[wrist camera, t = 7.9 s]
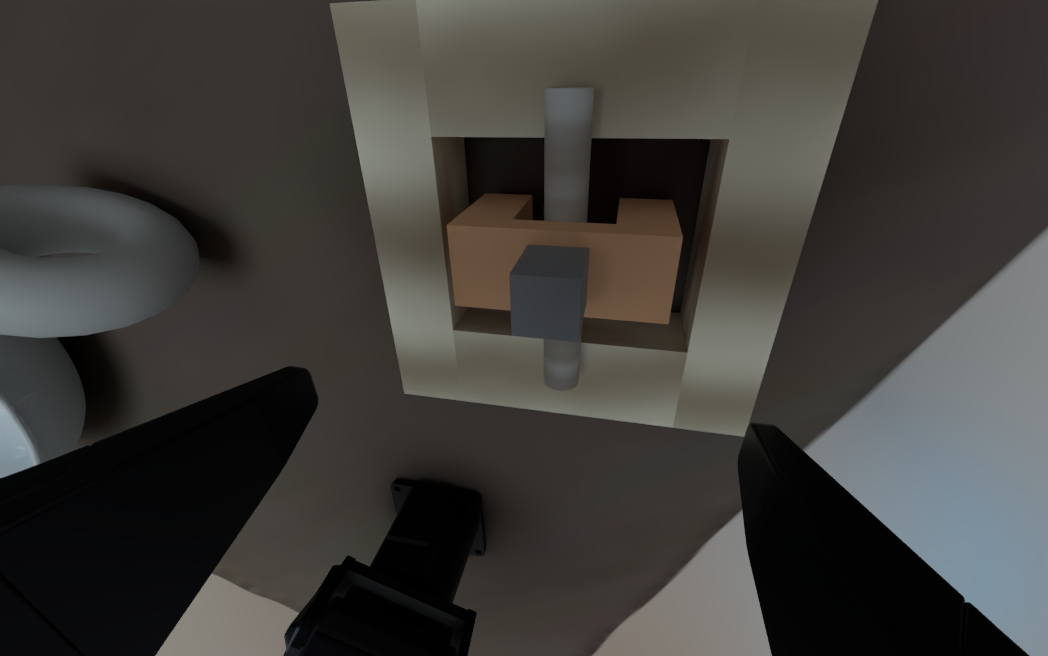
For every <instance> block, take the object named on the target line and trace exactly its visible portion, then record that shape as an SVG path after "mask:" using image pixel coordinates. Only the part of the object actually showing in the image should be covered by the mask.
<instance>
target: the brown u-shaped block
mask: <svg viewBox="0 0 1048 656" xmlns="http://www.w3.org/2000/svg"><path fill="white" fill-rule="evenodd" d="M447 234H448V244H449V253H450V263H451V272H452V282H453V291H454V301H455V306H463V307H475V308H486V309H498V310H509V311H511V335H512V336H518V337H528V338H538V339H549V340H559V341H569V342H578V341H579V336H580V331H581V327H582V322H583V317H589V318H600V319H612V320H623V321H635V322H646V323H657V324H669V319H670V313H671V307H672V301H673V295H674V289H675V283H676V277H677V271H678V265H679V259H680V253H681V247H682V241H683V235H682V232H681V228H680V224H679V221H678V217H677V213H676V210H675V206H674V203H673V200H661V199H633V198H620V200H619V208H618V216H617V223H616V224H602V223H581V222H559V221H538V220H533V195H520V194H492V193H485V194H484V195H483V196H482V197H480V198H479V199H478V200H477V201H475V202H474V203H473V204H472V205H471V206H469V207H468V208H467V209H466V210H464V211H463V212H462V213H461V214H460V215H458V216H457V217H456V218H455V219H453V220H452V221H451V222H450V223H449V224H447Z"/></svg>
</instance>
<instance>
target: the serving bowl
mask: <svg viewBox="0 0 1048 656" xmlns="http://www.w3.org/2000/svg"><path fill="white" fill-rule="evenodd" d="M85 411H86V404H85V395H84V390H83V387H82V383H81V380H80V377H79V375H78V372H77V370H76V368H75V366H74V364H73V362H72V360H71V358H70V356H69V355H68V353H67V352H66V350H65V349H64V347H63V346H62V344H61V343H60V341H59V340H58V339H57V337H51V338H34V337H22V336H11V335H0V478H3V477H5V476H8V475H11V474H14V473H16V472H19V471H22V470H25V469H27V468H30V467H33V466H35V465H38V464H40V463H43V462H46V461H48V460H51V459H53V458H56V457H59V456H61V455H64V454H66V453H69V452H72V451H73V450H74V449H75V447H76V445H77V443H78V441H79V439H80V436H81V433H82V430H83V426H84V421H85Z"/></svg>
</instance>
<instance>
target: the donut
mask: <svg viewBox="0 0 1048 656" xmlns="http://www.w3.org/2000/svg"><path fill="white" fill-rule="evenodd" d="M67 252H74V253H93V254H92V255H86V256H76V257H67V258H59V257H39V256H43V255H48V254H57V253H67ZM199 269H200V261H199V252H198V247H197V244H196V241H195V239H194V238H193V237H192V236H191V234H190V233H189V232H188V231H187V230H186V229H185V227H184V226H183V225H182V224H181V223H180V222H179V220H178V219H176V218H175V217H173V216H171V215H170V214H168V213H166V212H165V211H163V210H161V209H159V208H158V207H156V206H154V205H152V204H151V203H149V202H146V201H143V200H140V199H137V198H134V197H131V196H128V195H125V194H122V193H116V192H111V191H106V190H101V189H96V188H90V187H82V186H70V185H58V184H22V185H6V186H0V335H11V336H22V337H34V338H51V337H68V336H84V335H90V334H95V333H100V332H104V331H109V330H114V329H119V328H124V327H127V326H130V325H132V324H135V323H137V322H140V321H142V320H145V319H147V318H150V317H152V316H155V315H157V314H159V313H161V312H163V311H165V310H166V309H167V308H169V307H170V306H172V305H173V304H174V303H176V302H177V301H179V300H180V299H181V298H183V297H184V296H185V295H186V293H187V292H188V291H189V289H190V287H191V286H192V284H193V282H194V281H195V279H196V277H197V275H198V274H199Z"/></svg>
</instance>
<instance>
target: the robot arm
mask: <svg viewBox="0 0 1048 656" xmlns="http://www.w3.org/2000/svg"><path fill="white" fill-rule="evenodd" d="M317 406H318V395H317V392H316V389H315V386H314V383H313V380H312V376H311V374H310V372H309V371H308V370H307V369H305V368H301V367H293V366H289V367H285V368H283V369H280V370H278V371H275V372H272V373H270V374H267V375H265V376H262V377H260V378H257V379H255V380H252V381H250V382H247V383H244V384H242V385H239V386H237V387H234V388H232V389H229V390H227V391H224V392H222V393H219V394H217V395H214V396H211V397H209V398H206V399H204V400H201V401H199V402H196V403H194V404H191V405H189V406H186V407H184V408H181V409H178V410H176V411H173V412H171V413H168V414H166V415H163V416H161V417H158V418H156V419H153V420H150V421H148V422H145V423H143V424H140V425H138V426H135V427H133V428H130V429H128V430H125V431H123V432H120V433H117V434H115V435H112V436H110V437H107V438H105V439H102V440H100V441H97V442H95V443H93V444H92V445H91V446H89V445H87V446H84V447H82V448H79V449H77V450H74V451H72V452H69V453H66V454H64V455H61V456H59V457H56V458H53V459H51V460H48V461H46V462H43V463H40V464H38V465H35V466H33V467H30V468H27V469H25V470H22V471H19V472H16V473H14V474H11V475H8V476H5V477H3V478H0V656H155V655H156V654H157V652H158V651H159V649H160V648H161V646H162V645H163V643H164V642H165V640H166V639H167V637H168V636H169V634H170V633H171V632H172V630H173V629H174V627H175V626H176V624H177V623H178V621H179V620H180V618H181V617H182V615H183V614H184V613H185V611H186V610H187V608H188V607H189V605H190V604H191V603H192V601H193V600H194V598H195V597H196V595H197V594H198V592H199V591H200V589H201V588H202V586H203V585H204V583H205V582H206V581H207V579H208V578H209V576H210V575H211V573H212V572H213V570H214V569H215V567H216V566H217V565H218V563H219V562H220V560H221V559H222V557H223V556H224V554H225V553H226V551H227V550H228V549H229V547H230V546H231V544H232V543H233V541H234V540H235V538H236V537H237V535H238V534H239V532H240V531H241V530H242V528H243V527H244V525H245V524H246V522H247V521H248V519H249V518H250V516H251V515H252V513H253V512H254V511H255V509H256V508H257V506H258V505H259V503H260V502H261V500H262V499H263V497H264V496H265V495H266V493H267V492H268V490H269V489H270V487H271V486H272V484H273V483H274V481H275V480H276V478H277V477H278V475H279V474H280V472H281V471H282V469H283V468H284V466H285V464H286V463H287V461H288V459H289V458H290V456H291V454H292V452H293V450H294V448H295V447H296V445H297V443H298V441H299V439H300V438H301V436H302V434H303V432H304V430H305V429H306V427H307V425H308V423H309V421H310V420H311V418H312V416H313V414H314V412H315V411H316V409H317ZM738 474H739V483H740V492H741V501H742V510H743V518H744V528H745V536H746V544H747V550H748V555H749V560H750V564H751V568H752V573H753V577H754V581H755V585H756V590H757V594H758V598H759V602H760V607H761V611H762V615H763V619H764V624H765V628H766V632H767V636H768V641H769V645H770V649H771V653H772V656H1029V655H1028V654H1027V653H1026V652H1025V651H1023V650H1022V649H1021V648H1020V647H1019V646H1018V645H1017V644H1015V643H1014V642H1013V641H1012V640H1011V639H1010V638H1009V637H1008V636H1006V635H1005V634H1004V633H1003V632H1002V631H1001V630H1000V629H998V628H997V627H996V626H995V625H994V624H993V623H992V622H991V621H990V620H989V619H988V618H987V617H985V616H984V615H983V614H982V613H981V612H980V611H979V610H978V609H977V608H975V607H974V606H973V605H972V604H971V603H967V602H965V599H964V597H963V596H962V595H961V594H960V593H959V592H958V591H957V590H956V589H954V588H953V587H952V586H951V585H950V584H949V583H948V582H947V581H946V580H945V579H943V578H942V577H941V576H940V575H939V574H938V573H937V572H936V571H935V570H934V569H932V568H931V567H930V566H929V565H928V564H927V563H926V562H925V561H924V560H922V559H921V558H920V557H919V556H918V555H917V554H916V553H915V552H913V550H912V549H910V548H909V547H908V546H907V545H906V544H905V543H904V542H903V541H902V540H901V539H899V538H898V537H897V536H896V535H895V534H894V533H893V532H892V531H891V530H890V529H889V528H887V527H886V526H885V525H884V524H883V523H882V522H881V521H880V520H879V519H877V518H876V517H875V516H874V515H873V514H872V513H871V512H870V511H869V510H868V509H867V508H865V507H864V506H863V505H862V504H861V503H860V502H859V501H858V500H857V499H856V498H854V497H853V496H852V495H851V494H850V493H849V492H848V491H847V490H846V489H845V488H843V487H842V486H841V485H840V484H839V483H838V482H837V481H836V480H835V479H834V478H832V477H831V476H830V475H829V474H828V473H827V472H826V471H825V470H824V469H823V468H822V467H820V466H819V465H818V464H817V463H816V462H815V461H814V460H813V459H811V458H810V457H809V456H808V455H807V454H806V453H805V452H804V451H803V450H802V449H801V448H800V447H798V446H797V445H796V444H795V443H794V442H793V441H792V440H791V439H790V438H789V437H787V436H786V435H785V434H784V433H783V432H782V431H781V430H780V429H779V428H777V427H776V426H774V425H770V424H762V423H751V424H749V425H748V427H747V429H746V432H745V436H744V439H743V442H742V445H741V449H740V452H739V455H738ZM391 490H392V495H393V499H394V503H395V507H396V511H397V516H396V518H395V520H394V522H393V524H392V526H391V528H390V530H389V531H388V533H387V535H386V537H385V539H384V541H383V543H382V545H381V546H380V548H379V550H378V552H377V554H376V556H375V558H374V560H373V561H372V563H371V565H370V567H369V566H367V565H365V564H362V563H360V562H358V561H355V558H353V557H351V556H348V555H347V557H346V558H345V560H344V561H343V563H342V564H341V565H334V566H332V568H331V570H330V571H329V573H328V575H327V576H326V578H325V580H324V581H323V583H322V584H321V586H320V588H319V589H318V591H317V592H316V593H315V595H314V596H313V597H312V599H311V600H310V601H309V602H308V604H307V605H306V606H305V607H304V608H303V610H302V611H301V612H300V613H299V615H298V616H297V617H296V618H295V620H294V621H293V622H292V623H291V625H290V626H289V628H288V629H287V631H286V633H285V636H284V637H285V643H286V651H285V653H284V656H467V655H468V650H469V646H470V641H471V637H472V632H473V627H474V623H475V618H476V614H477V612H475V611H473V610H470V609H468V610H466V609H464V608H462V607H459V606H457V605H455V604H453V600H454V597H455V594H456V591H457V588H458V586H459V583H460V580H461V577H462V574H463V571H464V568H465V565H466V562H467V559H468V556H469V554H471V555H476V556H483V555H484V554H485V550H486V543H485V533H484V522H483V512H482V502H481V497H480V495H479V494H477V493H475V492H470V491H464V490H458V489H452V488H446V487H440V486H434V485H428V484H422V483H416V482H410V481H404V480H394V482H393V483H392V485H391Z"/></svg>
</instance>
